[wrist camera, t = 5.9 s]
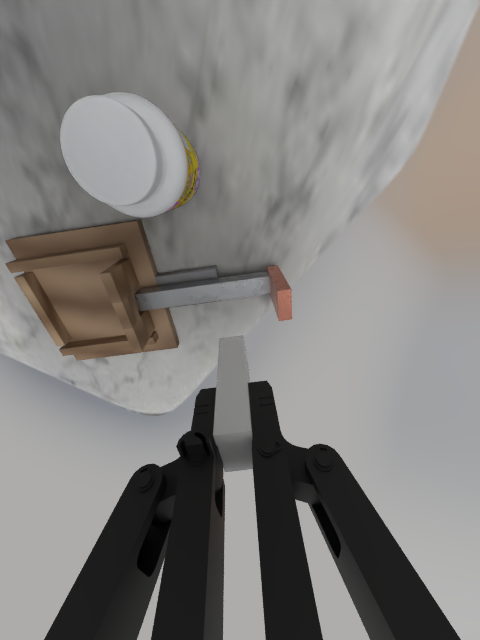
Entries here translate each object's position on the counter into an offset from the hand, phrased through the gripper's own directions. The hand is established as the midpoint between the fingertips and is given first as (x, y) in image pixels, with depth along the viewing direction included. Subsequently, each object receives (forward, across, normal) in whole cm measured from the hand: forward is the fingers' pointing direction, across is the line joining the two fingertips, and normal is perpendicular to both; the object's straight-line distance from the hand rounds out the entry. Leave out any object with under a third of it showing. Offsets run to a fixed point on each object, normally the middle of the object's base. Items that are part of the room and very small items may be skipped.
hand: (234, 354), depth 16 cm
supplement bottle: (+16, -5, +11) cm, 20 cm away
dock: (+15, -12, -1) cm, 20 cm away
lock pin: (+14, -3, -1) cm, 14 cm away
